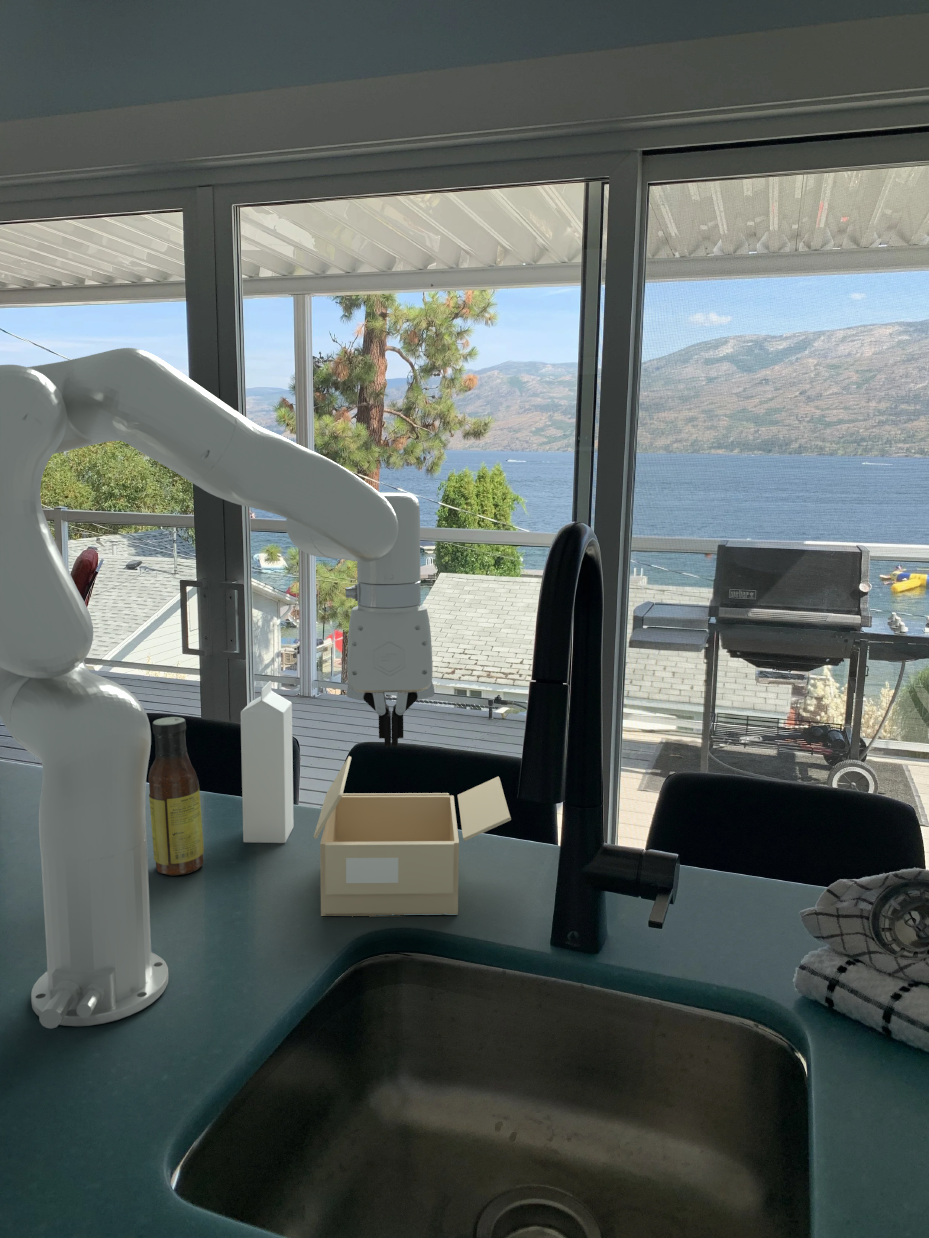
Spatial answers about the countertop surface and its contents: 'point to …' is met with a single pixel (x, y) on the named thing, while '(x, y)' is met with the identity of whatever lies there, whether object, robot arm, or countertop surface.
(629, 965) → the countertop surface
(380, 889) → the carton
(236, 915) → the countertop surface
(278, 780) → the milk
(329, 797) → the left flap
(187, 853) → the sauce bottle
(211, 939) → the countertop surface
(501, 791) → the right flap
